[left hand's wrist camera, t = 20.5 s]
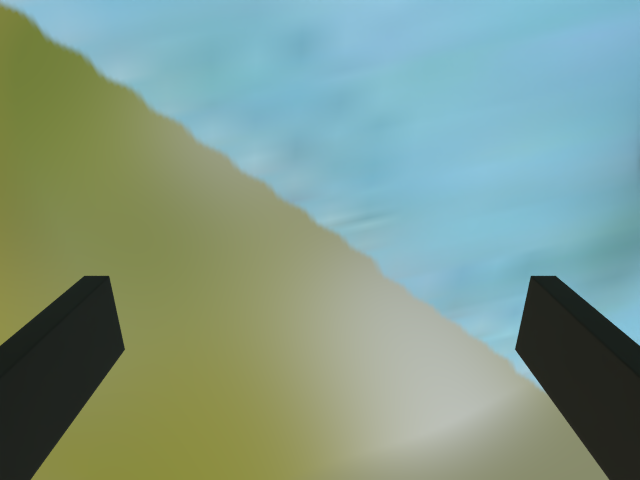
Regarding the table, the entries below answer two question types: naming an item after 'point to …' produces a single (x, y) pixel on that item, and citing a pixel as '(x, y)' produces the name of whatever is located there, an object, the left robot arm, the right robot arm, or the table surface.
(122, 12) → the table surface
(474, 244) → the table surface
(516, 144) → the table surface
